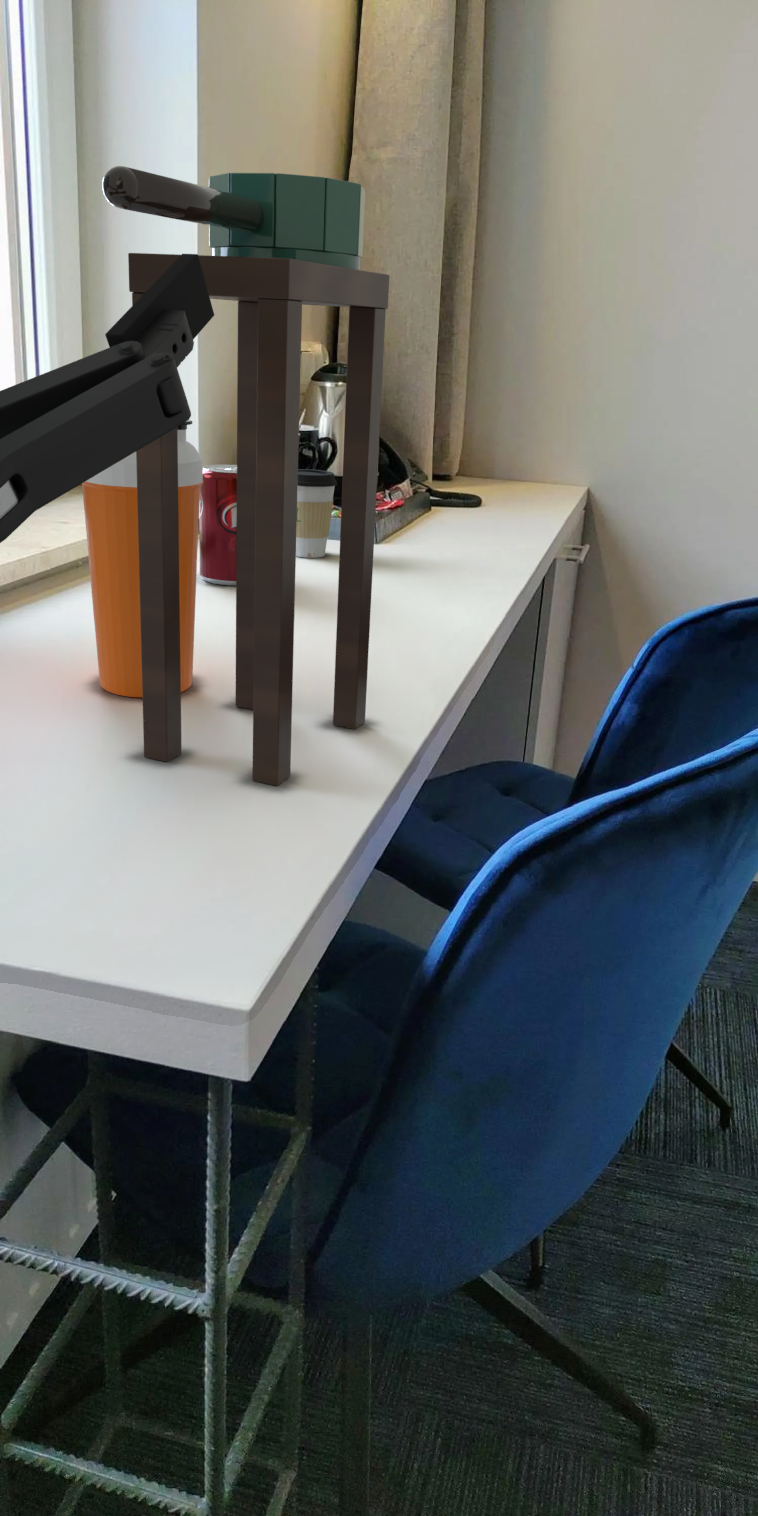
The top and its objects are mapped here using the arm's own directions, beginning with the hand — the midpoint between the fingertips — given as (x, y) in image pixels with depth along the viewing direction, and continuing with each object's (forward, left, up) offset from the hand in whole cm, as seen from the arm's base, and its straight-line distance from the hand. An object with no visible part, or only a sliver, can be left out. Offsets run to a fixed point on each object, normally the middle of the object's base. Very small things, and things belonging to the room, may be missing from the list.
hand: (68, 278), depth 50 cm
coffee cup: (0, +84, -28) cm, 89 cm away
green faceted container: (+5, +14, +2) cm, 15 cm away
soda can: (-6, +67, -28) cm, 73 cm away
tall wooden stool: (+6, +18, -28) cm, 34 cm away
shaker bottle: (-5, +28, -28) cm, 40 cm away
